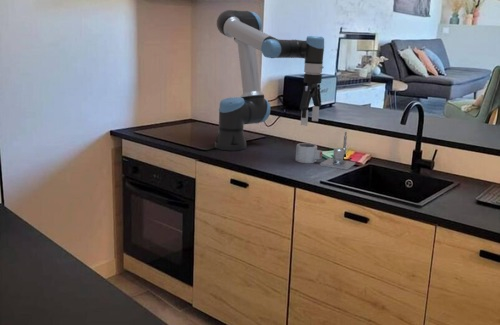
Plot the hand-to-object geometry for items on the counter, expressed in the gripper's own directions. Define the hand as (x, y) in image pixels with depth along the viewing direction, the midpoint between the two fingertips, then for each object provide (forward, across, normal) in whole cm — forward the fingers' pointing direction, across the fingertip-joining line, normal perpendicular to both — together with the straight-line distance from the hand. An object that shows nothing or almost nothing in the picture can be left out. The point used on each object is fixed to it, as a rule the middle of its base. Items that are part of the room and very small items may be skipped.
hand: (309, 123), depth 226 cm
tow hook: (+17, +15, -12) cm, 26 cm away
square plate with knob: (+17, +1, -14) cm, 22 cm away
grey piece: (+17, -1, -1) cm, 17 cm away
